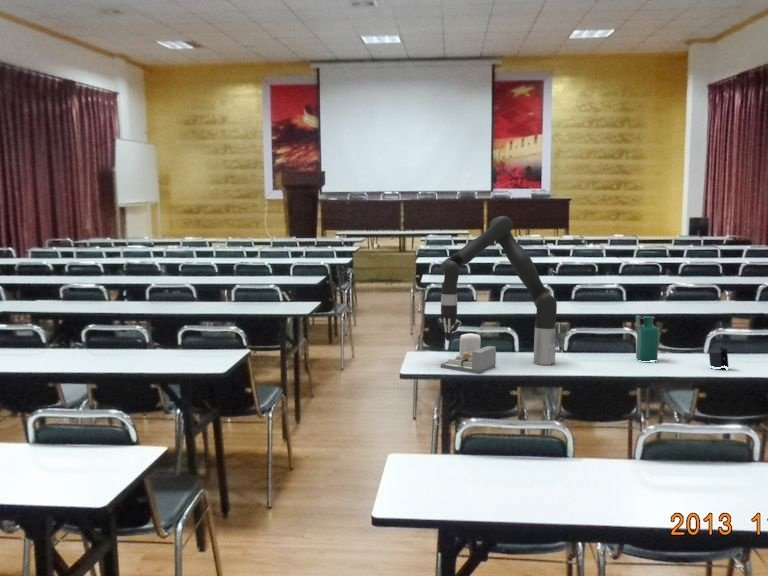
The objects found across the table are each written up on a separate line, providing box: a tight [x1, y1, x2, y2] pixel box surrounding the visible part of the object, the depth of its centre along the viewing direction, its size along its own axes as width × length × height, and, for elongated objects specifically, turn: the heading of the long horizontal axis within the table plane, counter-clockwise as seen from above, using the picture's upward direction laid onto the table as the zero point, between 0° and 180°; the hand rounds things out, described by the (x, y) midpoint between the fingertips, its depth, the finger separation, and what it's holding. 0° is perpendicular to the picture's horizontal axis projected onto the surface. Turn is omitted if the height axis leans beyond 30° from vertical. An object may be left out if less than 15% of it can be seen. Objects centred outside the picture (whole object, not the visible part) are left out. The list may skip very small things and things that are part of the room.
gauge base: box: [440, 345, 497, 375], centre depth 326 cm, size 20×16×10 cm
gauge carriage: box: [461, 351, 472, 366], centre depth 324 cm, size 5×11×5 cm, turn 146°
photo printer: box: [458, 333, 481, 357], centre depth 344 cm, size 10×4×12 cm, turn 98°
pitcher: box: [635, 314, 660, 361], centre depth 343 cm, size 10×8×22 cm
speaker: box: [708, 346, 729, 367], centre depth 328 cm, size 8×6×10 cm
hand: (448, 340), depth 331 cm, fingers closed
